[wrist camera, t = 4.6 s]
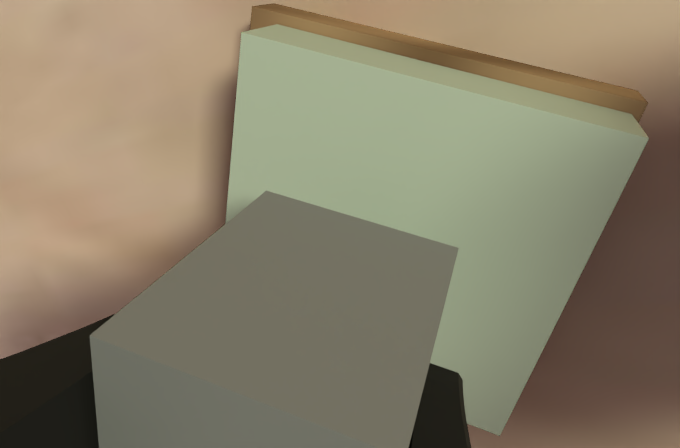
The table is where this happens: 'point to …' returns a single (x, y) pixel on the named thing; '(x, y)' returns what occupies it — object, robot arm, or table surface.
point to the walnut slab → (454, 58)
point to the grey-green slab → (440, 183)
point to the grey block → (276, 337)
